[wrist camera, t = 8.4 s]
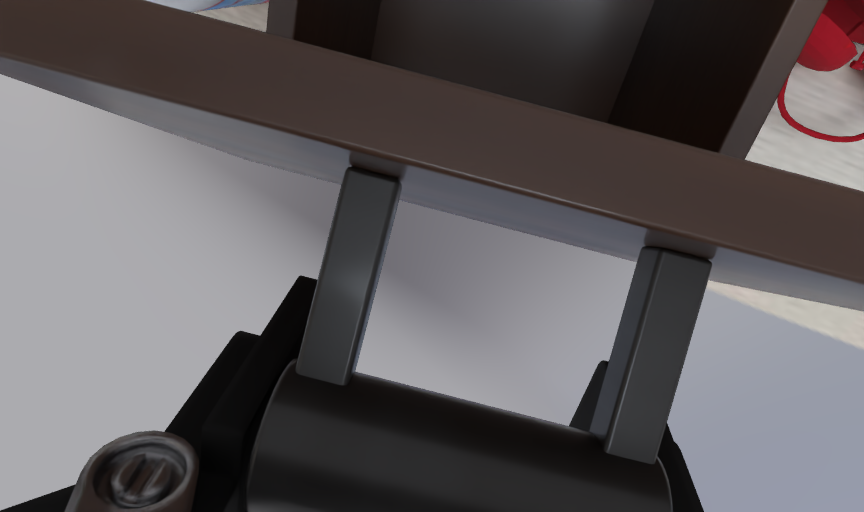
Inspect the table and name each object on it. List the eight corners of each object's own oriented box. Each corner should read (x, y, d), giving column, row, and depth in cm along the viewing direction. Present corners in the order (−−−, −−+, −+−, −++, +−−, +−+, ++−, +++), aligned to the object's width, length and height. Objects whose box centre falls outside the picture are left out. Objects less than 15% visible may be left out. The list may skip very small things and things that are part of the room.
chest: (397, -185, 23) (298, -339, 12) (708, -100, 24) (917, -166, 12) (355, 70, 28) (255, 142, 17) (612, 138, 29) (694, 257, 17)
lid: (-178, -89, 5) (-294, 514, 5) (1335, 314, 5) (1137, 865, 5) (253, 133, 16) (210, 311, 16) (702, 251, 16) (652, 425, 17)
